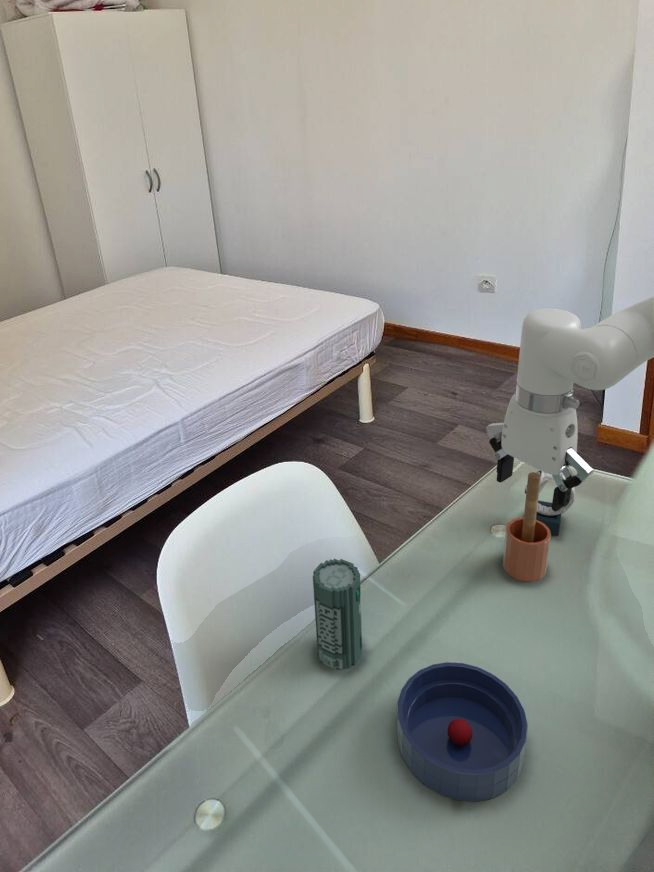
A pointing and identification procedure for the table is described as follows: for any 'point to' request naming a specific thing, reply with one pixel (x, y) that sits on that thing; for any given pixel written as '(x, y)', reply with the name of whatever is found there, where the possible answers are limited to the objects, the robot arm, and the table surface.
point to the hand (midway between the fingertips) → (530, 492)
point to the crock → (526, 551)
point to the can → (338, 613)
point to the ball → (459, 732)
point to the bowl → (488, 718)
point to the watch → (550, 507)
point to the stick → (531, 507)
